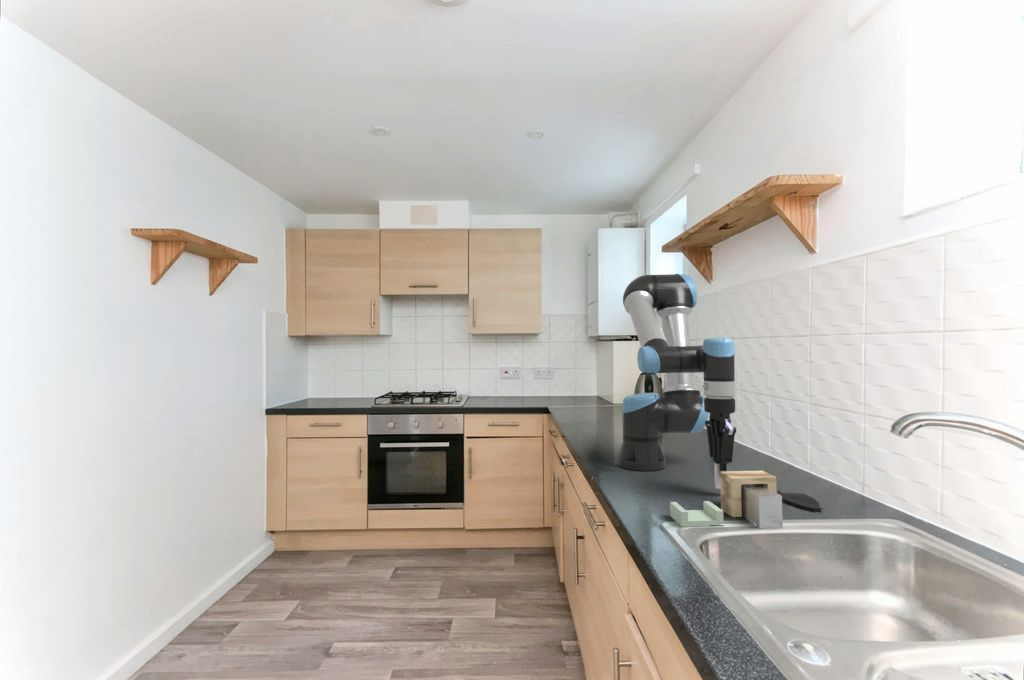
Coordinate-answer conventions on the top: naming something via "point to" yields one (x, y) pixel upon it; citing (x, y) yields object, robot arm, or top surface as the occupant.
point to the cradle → (697, 515)
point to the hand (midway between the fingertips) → (721, 487)
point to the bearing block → (732, 488)
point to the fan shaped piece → (800, 501)
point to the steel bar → (761, 506)
